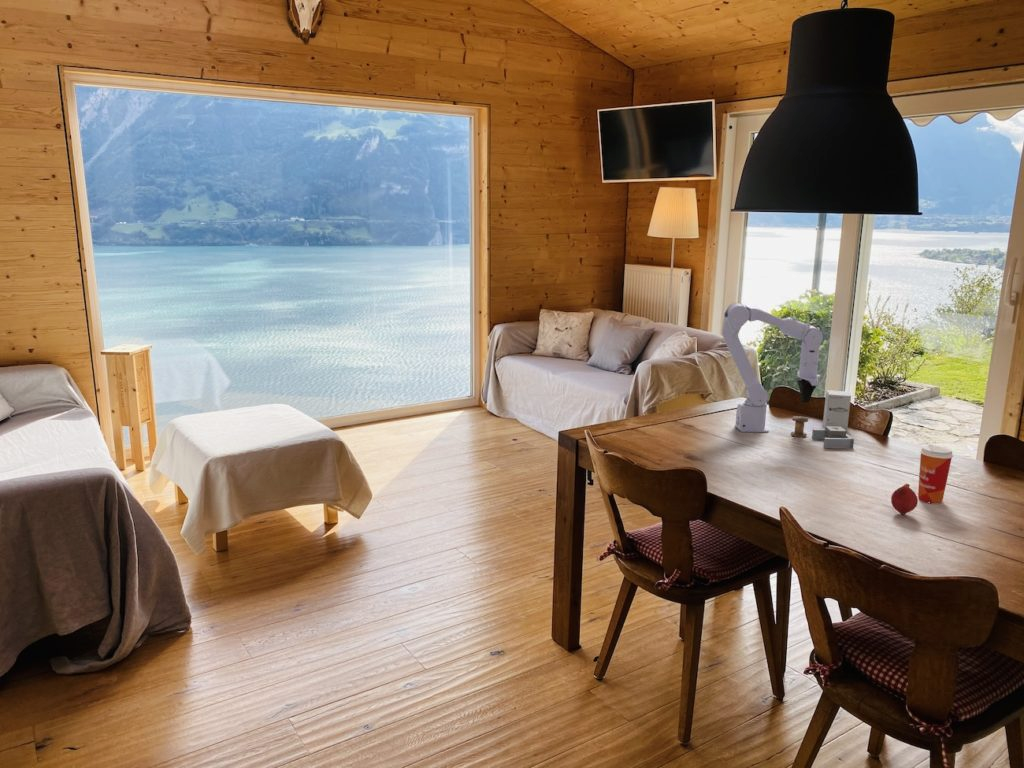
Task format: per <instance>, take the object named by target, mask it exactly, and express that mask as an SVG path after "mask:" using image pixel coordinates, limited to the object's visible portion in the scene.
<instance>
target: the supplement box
mask: <svg viewBox="0 0 1024 768" xmlns="http://www.w3.org/2000/svg"><path fill="white" fill-rule="evenodd" d="M824 399H825V400H824V410H823V419H822V426H823V429H825V426H833V427H842V428H843V429H845V430H846V432H847V431H848V426H849V425H848V424H849V415H850V410H851V409H850V408H851V399H852V396H851V394H850V392H849V391H844V390H843V391H842V390H841V391H840V390H833V389H832V390H831V389H830V390H829V389H827V390H826V392H825V398H824Z"/></svg>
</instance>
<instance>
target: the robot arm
mask: <svg viewBox="0 0 1024 768" xmlns="http://www.w3.org/2000/svg"><path fill="white" fill-rule="evenodd" d="M748 321H749V322H755V321H759V322H762V323H765V324H767V325H770V326H773V327H776V328H778V329H779V331H780V333H781V334H783V335H786V336H788V337H790V338H792V339H796V340H798V341H801V349H800V356H799V357H800V359H799V367H798V370H797V372H796V377H797V378H799V379H800V380H796V383H797V386H798V388H799V392H800V400H801V402H802V403H810V401H811V398H812V395H813V393H814V391H815V390H816V387H817V386H819V379H821V375H820V374H818V368H819V358H820V345H821V343H822V341H823V339H824V336H823V333H822V331H821V330H820V329H818V328H817V327H816V326H813V325H811V324H810V323H809V322H806V323H805V322H802V321H800V320H797V317H794V316H792V317H790V316H788V317H785V318H781V317H779V316H777V315H774V314H772V313H770V312H768V311H765V310H762V309H761V308H757V307H755V306H752V305H748V304H744V305H743V304H742V303H740V302H733V303H730V304H729V305H728V307H727V308H726V310H725V312H724V313H723V322H722V326H721V327H722V328H721V336H722V338H723V340H724V343H725V345H726V347H727V349H728V352H729V353H730V355H731V358H732V360H733V362H734V364H735V367H736V368H737V370H738V374H739V375H740V377H741V380H742V381H743V382H742V383H743V385H744V387H745V388H744V389H745V390H744V392H745V396H746V397H747V398H746V399H745V400H744V403H739V404H737V406H736V412H735V413H736V414H735V424H734V426H735V427H736V428H737V429H738V431H740V432H743V433H744V432H745V433H752V432H753V433H768V432H769V430H768V429H767V428H766V418H767V406H768V405H767V404H768V403H767V402H768V400H769V393H768V391H767V390H766V389H765V388H764V385H762V384H761V383H760V381H759V379H758V377H757V375H756V372H755V371H754V368H753V367H752V364H751V362H750V360H749V357H748V356H747V352H746V351H745V349H744V347H743V345H742V344H743V343H742V342H741V340H740V338H739V336H738V334H739V333H740V331H741V329H742V327H743V326H744V325H745V324H746V323H747V322H748Z"/></svg>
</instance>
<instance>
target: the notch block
mask: <svg viewBox="0 0 1024 768" xmlns="http://www.w3.org/2000/svg"><path fill="white" fill-rule="evenodd" d="M811 433H812V435H811V439H812V440H813V439H814V440H819V439H820V440H821V439H823V449H853V448H854V444H855V443H854V442H855V438H853V437H851V436H850V435H849V434H847V433H846V438H824V436H825V428H821V429H820V428H812V432H811Z"/></svg>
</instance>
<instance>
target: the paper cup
mask: <svg viewBox="0 0 1024 768" xmlns="http://www.w3.org/2000/svg"><path fill="white" fill-rule="evenodd" d="M919 453H920V459H919V461H920V462H919V473H918V474H919V475H918V477H919V478H918V489H917V490H918V492H917V499H918V498H919V499H920V500H919V499H918V500H919V501H921V500H922V501H921V502H923V501H925V502H924V503H926V502H930V503H929V504H931V503H940V502H942V503H943V500H944V496H945V492H946V487H947V486H946V485H947V482H948V477H949V472H950V466H951V463H952V458H953V457H954V454H953V450H952V449H951V448H949V447H946V446H943V445H936V444H935V445H934V444H932V445H931V444H929V445H928V444H926V445H925V444H924V445H922V446H921V449H920V450H919ZM940 504H941V503H940Z"/></svg>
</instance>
